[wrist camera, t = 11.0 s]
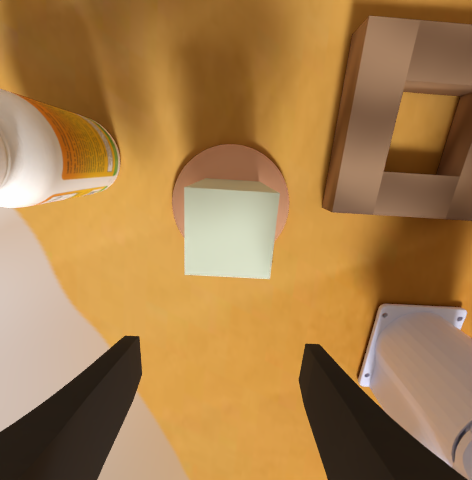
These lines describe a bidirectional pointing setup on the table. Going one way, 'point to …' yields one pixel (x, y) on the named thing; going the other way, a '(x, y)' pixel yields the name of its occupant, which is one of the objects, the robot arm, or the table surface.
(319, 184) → the table surface
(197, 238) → the peg
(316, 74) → the table surface
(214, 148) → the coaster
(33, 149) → the supplement bottle
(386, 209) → the block
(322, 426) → the robot arm
